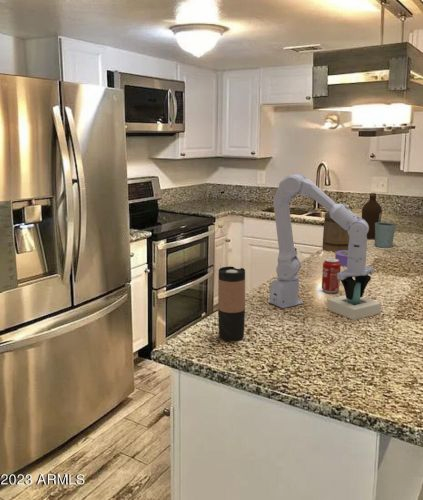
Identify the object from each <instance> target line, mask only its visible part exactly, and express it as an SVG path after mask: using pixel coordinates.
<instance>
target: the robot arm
mask: <svg viewBox="0 0 423 500" xmlns="http://www.w3.org/2000/svg"><path fill="white" fill-rule="evenodd" d="M298 194H299V196H302V197H304V196H306V197H310V198H312V199H313V200H314V201H315V202H316V203H318V204H319V205H321V206H322V207H323V208H324V209H325V210H327V212H330V217H331V218H332V219H333V220H334V221H335V222H336V223H338V224H339V225H340V226H341V227H342V228H343V229H345V230H347V231H348V235H349V236H350V237H349V244H348V260H347V267H346V269H344V270H342V271H340V273H337V279H340V283H341V285H342V286H343V289H344V293H345V295H346V298H347V299H350V300H352V299H353V293H354V288H355V285H356V282H359V283H361V290H360V297H364V293H365V290H366V288H367V285H368V284H369V282H370V281H371V280H372V276H371V275H372V274H374V271H375V268H374V267H371V266H367V264H366V263H367V262H366V261H367V250H368V239H367V236H366V235H367V233H368V231H369V226H368V223H367V222H366V221H365V220H364V219H362V218H361V216H360V215H356V214H355V212H353V211H351V209H349V208H350V206H349V205H348V204H343V203H336V202H335V201H334V200H333V199H332V198H331V197H329V196H328V194H326V193H325V192H324V191H323V190H322V189H321V188H320V187H318V185H317V184H315V183H314V182H313V181H312V180H311V179H309V178H306V176H305V175H304V174H302V173H294V174H291V175H290V174H289V175H287V176H285V177H284V178H283V179H282V180H281V181H280V182H279V183H278V188H277V189H276V192H275V194H274V196H273V199H272V203H273V211H274V213H273V214H274V218H275V229H276V235H277V244H278V256H277V266H276V267H275V268H276V269H275V270H276V275H277V278H276V279H274V280H272V281H271V282H270V284H269V300H268V303H270V304H272V305H275V306H276V307H278V308H281V309H285V308H290V307H294V306H298V305H303V304H304V301H302V300H299V286H300V275H299V274H298V272H299V271H300V270H301V266H302V263H301V261H300V259H299V258H298V253H297V251H296V249H295V244H294V236H293V226H292V218H291V212H290V211H291V209H290V203H291V201H292V200H293V199H294V198H295V197H296V195H298ZM354 216H355V217H354ZM345 226H346V227H345ZM344 227H345V228H344Z"/></svg>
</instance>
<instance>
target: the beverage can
mask: <svg viewBox="0 0 423 500" xmlns="http://www.w3.org/2000/svg"><path fill="white" fill-rule="evenodd" d="M341 267H342V266H341V264H340V262H339V260H338V259H335V257H334V258H332V257H331V258H330V257H329V258H328V257H327V258H325V259H324V261H323V263H322V272H321V273H322V277H321V278H322V280H321V290H323V292H324V293H327V294H336V293H337V292H338V291H339V290H340V283H341V280H340V279H337V273H340V272H341Z"/></svg>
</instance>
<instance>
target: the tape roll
mask: <svg viewBox="0 0 423 500" xmlns="http://www.w3.org/2000/svg"><path fill="white" fill-rule="evenodd" d="M334 259H338V260H339V262H340V264H341V266H340V267H344V266H345V267H346V268H347V260H348V250H341V251H337V252H335V255H334Z"/></svg>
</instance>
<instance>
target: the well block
mask: <svg viewBox="0 0 423 500" xmlns="http://www.w3.org/2000/svg"><path fill="white" fill-rule="evenodd" d="M326 303H327V304H326V310H328V311H331V312H333V313H336V314H338V315H340V316H342V317H345V318H348V319H350V320H352V321H356V320H357V321H358V320H362V319H364V318H369V317H372V316H376V315H380V314H381V309H382V302H379V301H377V300H374V299H371V298H368V297H365V296H362V297H360V304H358V305H352V304H350V303H347V298H346V294H345V295H340V296H335V297H331V298H327V302H326Z"/></svg>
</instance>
